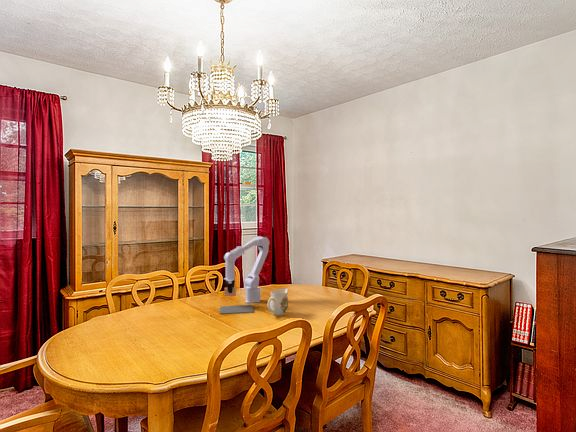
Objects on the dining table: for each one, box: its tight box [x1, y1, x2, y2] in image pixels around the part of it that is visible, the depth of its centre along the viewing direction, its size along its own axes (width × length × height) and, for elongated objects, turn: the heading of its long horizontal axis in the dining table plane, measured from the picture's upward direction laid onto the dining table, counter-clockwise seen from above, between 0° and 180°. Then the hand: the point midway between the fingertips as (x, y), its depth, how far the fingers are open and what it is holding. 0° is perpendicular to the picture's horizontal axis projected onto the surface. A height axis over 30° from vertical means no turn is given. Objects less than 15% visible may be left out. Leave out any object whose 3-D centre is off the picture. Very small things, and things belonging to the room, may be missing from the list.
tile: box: [224, 286, 237, 297], centre depth 219 cm, size 7×2×5 cm, turn 99°
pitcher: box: [266, 287, 289, 317], centre depth 201 cm, size 11×18×14 cm, turn 143°
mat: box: [219, 304, 255, 315], centre depth 210 cm, size 20×14×1 cm
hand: (230, 292), depth 219 cm, fingers closed on tile, 2 cm apart
